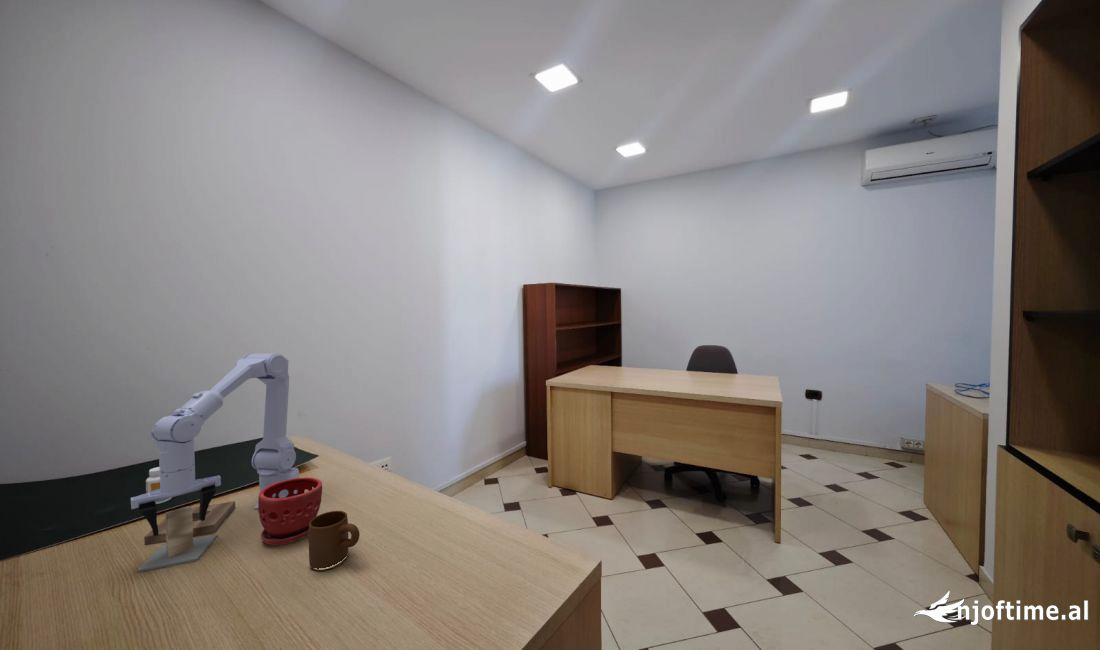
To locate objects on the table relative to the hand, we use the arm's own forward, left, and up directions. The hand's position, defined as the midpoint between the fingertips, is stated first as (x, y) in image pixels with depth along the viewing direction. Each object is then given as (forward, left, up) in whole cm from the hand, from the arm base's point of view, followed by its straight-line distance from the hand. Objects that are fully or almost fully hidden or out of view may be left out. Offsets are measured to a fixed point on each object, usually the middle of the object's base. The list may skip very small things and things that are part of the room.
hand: (179, 526), depth 86 cm
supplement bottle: (+19, -35, -6) cm, 40 cm away
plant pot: (-22, +1, -6) cm, 23 cm away
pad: (0, 0, -6) cm, 6 cm away
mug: (-34, +18, -6) cm, 39 cm away
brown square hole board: (+3, -14, -6) cm, 16 cm away
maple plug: (0, 0, -6) cm, 6 cm away
